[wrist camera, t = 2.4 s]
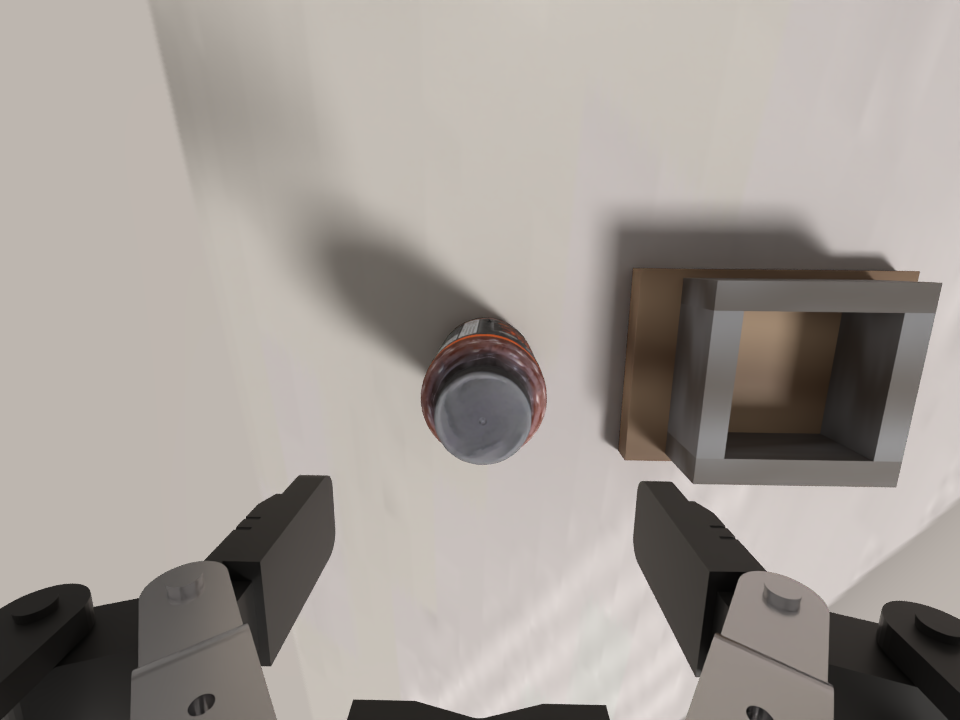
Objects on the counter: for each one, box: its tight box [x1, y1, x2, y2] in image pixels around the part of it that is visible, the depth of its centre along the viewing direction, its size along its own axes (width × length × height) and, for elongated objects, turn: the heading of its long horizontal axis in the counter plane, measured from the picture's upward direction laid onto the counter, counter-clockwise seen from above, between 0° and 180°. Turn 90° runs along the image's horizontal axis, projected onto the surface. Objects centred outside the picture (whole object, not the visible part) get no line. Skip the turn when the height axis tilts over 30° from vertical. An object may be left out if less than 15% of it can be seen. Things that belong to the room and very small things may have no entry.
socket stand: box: [618, 268, 942, 487], centre depth 26 cm, size 12×16×6 cm
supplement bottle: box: [421, 318, 547, 465], centre depth 24 cm, size 6×6×11 cm
